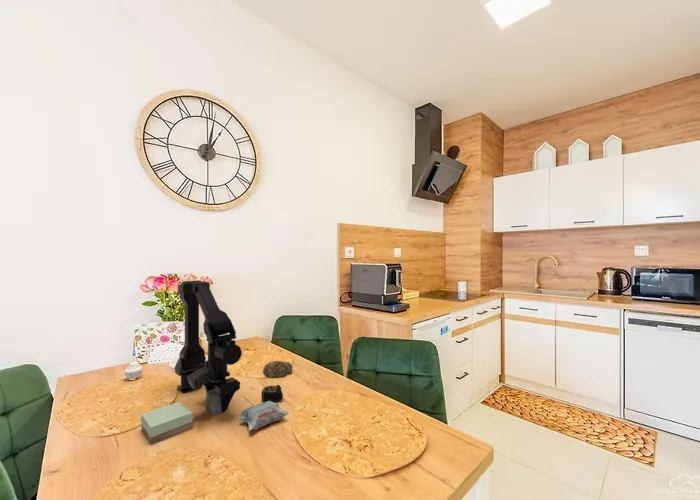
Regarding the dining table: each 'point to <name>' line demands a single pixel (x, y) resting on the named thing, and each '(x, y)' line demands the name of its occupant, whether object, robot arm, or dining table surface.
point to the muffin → (133, 370)
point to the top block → (166, 418)
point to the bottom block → (167, 433)
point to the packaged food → (262, 414)
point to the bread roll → (277, 369)
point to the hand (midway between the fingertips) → (217, 406)
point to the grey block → (213, 403)
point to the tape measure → (272, 393)
